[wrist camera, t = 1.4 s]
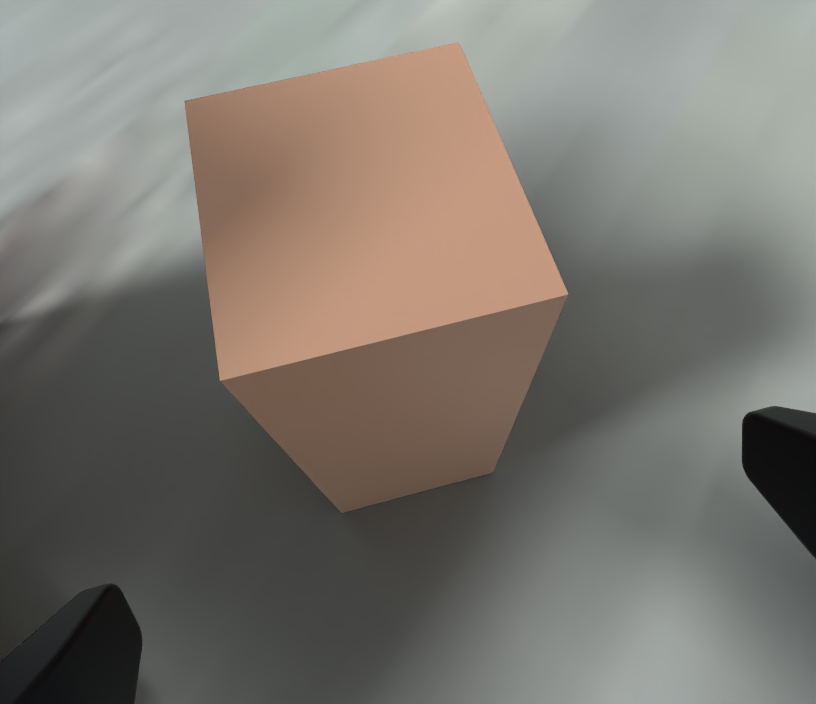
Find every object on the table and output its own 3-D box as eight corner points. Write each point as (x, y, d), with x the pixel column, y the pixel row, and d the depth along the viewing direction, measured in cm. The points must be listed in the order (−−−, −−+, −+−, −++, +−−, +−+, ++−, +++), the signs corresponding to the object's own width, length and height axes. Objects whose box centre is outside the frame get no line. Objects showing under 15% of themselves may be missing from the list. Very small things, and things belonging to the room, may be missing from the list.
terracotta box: (493, 472, 20) (568, 294, 9) (341, 512, 20) (219, 380, 9) (446, 327, 23) (459, 42, 11) (310, 360, 22) (184, 101, 11)
